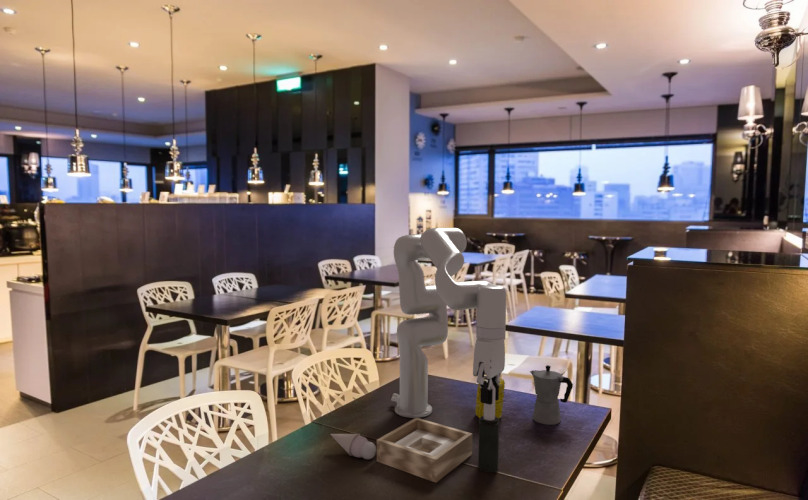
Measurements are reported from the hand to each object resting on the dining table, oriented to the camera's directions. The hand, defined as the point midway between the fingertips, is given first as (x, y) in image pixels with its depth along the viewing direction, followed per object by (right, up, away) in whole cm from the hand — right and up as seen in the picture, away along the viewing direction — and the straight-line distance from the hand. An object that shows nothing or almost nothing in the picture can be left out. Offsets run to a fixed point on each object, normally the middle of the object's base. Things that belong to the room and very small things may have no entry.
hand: (489, 400), depth 139 cm
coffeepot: (+25, -16, +33) cm, 44 cm away
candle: (0, -18, +1) cm, 18 cm away
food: (+6, -16, +35) cm, 39 cm away
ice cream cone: (-37, -18, +8) cm, 42 cm away
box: (-17, -18, +7) cm, 25 cm away
